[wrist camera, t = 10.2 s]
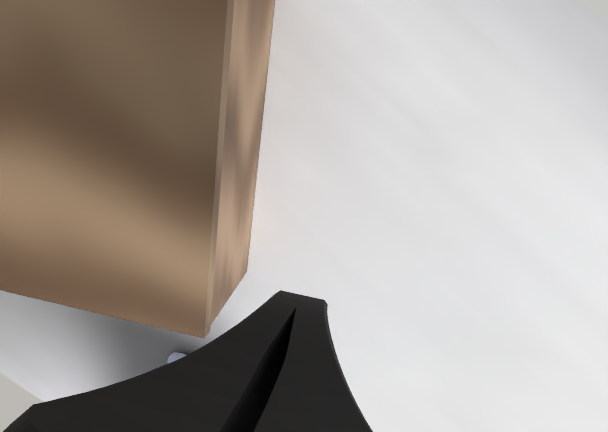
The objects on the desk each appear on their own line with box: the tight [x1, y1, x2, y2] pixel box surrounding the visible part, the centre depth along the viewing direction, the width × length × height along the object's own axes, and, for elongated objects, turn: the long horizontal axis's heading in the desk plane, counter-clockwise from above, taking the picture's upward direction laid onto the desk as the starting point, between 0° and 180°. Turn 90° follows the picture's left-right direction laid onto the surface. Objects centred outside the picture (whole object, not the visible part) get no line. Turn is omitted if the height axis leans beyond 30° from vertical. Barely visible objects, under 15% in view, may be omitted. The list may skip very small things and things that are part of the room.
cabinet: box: [0, 0, 275, 338], centre depth 17 cm, size 14×10×6 cm
